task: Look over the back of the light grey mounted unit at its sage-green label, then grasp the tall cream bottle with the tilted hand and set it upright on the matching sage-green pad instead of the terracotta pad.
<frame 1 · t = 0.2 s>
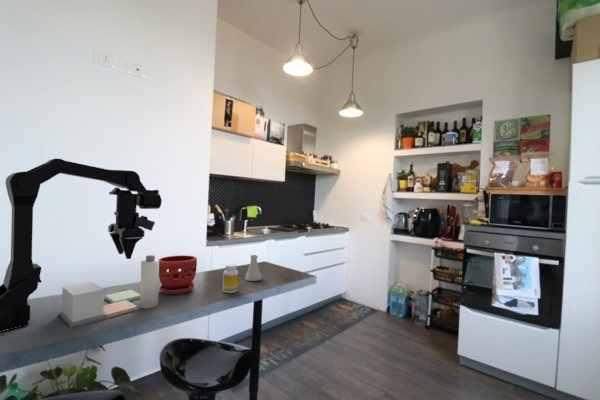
hand: (124, 256, 96), 14 cm above the breakfast bar, tool pointing down, fingers open, 9 cm apart
grey unit: (82, 316, 82), on the breakfast bar
flask: (253, 279, 123), on the breakfast bar
sage green pad: (123, 298, 96), on the breakfast bar
plant pot: (176, 291, 106), on the breakfast bar
supplement bottle: (230, 291, 107), on the breakfast bar
cream bottle: (149, 305, 91), on the breakfast bar
terracotta pad: (117, 310, 87), on the breakfast bar
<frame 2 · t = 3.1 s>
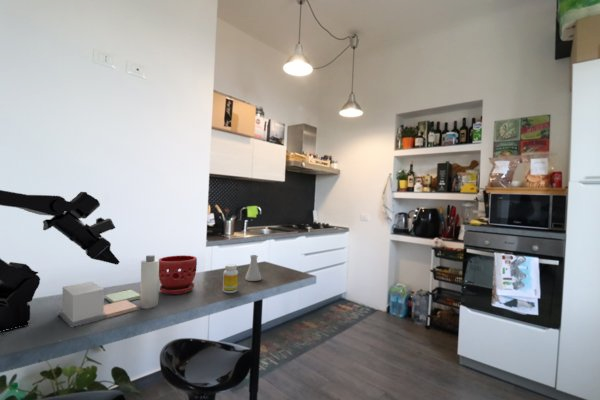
hand: (115, 260, 96), 13 cm above the breakfast bar, tool tilted 45°, fingers open, 9 cm apart
nothing on the breakfast bar moved.
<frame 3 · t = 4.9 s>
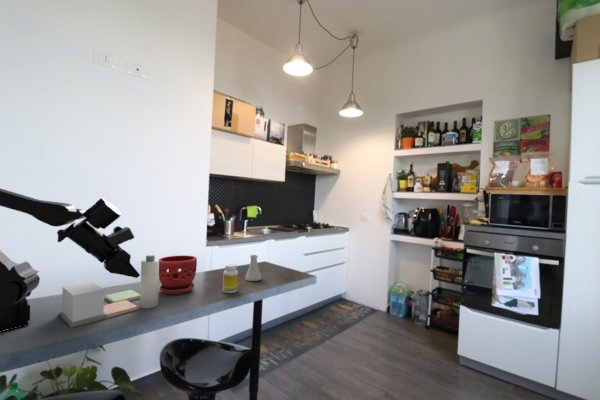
hand: (134, 272, 88), 11 cm above the breakfast bar, tool tilted 45°, fingers open, 9 cm apart
nothing on the breakfast bar moved.
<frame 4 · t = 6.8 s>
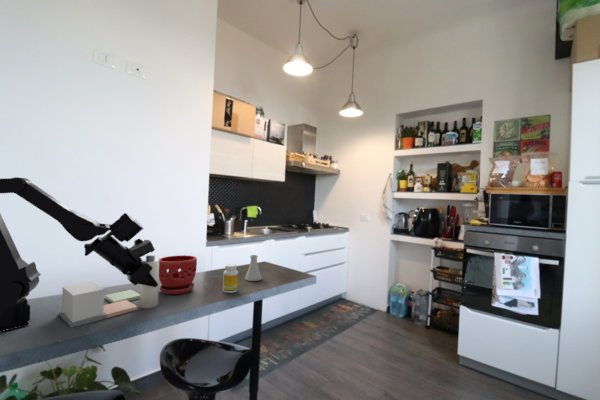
hand: (154, 283, 92), 7 cm above the breakfast bar, tool tilted 45°, fingers closed on cream bottle, 5 cm apart
cream bottle: (149, 305, 91), on the breakfast bar, touching gripper
everything else where it was.
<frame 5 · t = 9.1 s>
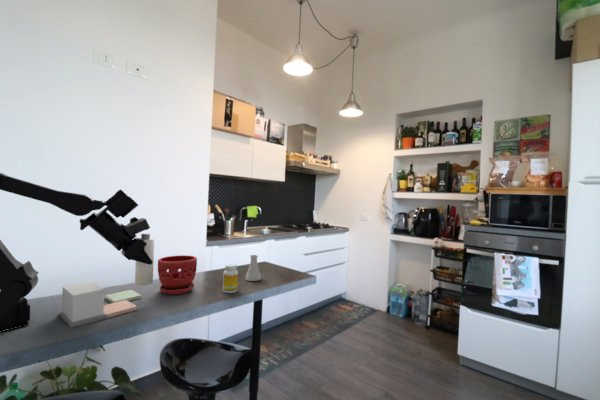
hand: (149, 261, 93), 13 cm above the breakfast bar, tool tilted 45°, fingers closed on cream bottle, 5 cm apart
cream bottle: (143, 283, 92), point 7 cm above the breakfast bar, touching gripper
everything else where it was.
when the fingers open (9 cm above the breakfast bar, at t = 11.7 s): cream bottle drops 1 cm, resting on sage green pad.
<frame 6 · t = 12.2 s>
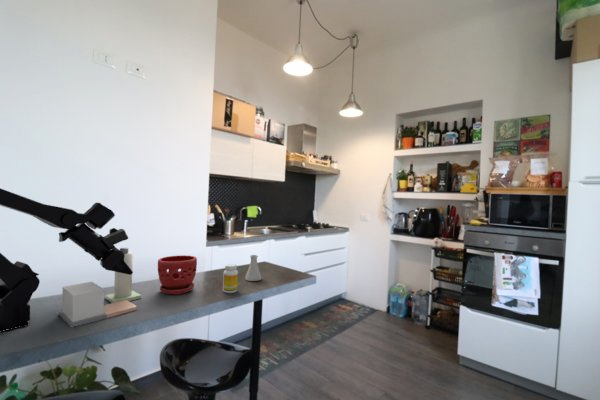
hand: (128, 270, 97), 9 cm above the breakfast bar, tool tilted 45°, fingers open, 9 cm apart
cream bottle: (123, 295, 96), point 1 cm above the breakfast bar, touching sage green pad
everything else where it was.
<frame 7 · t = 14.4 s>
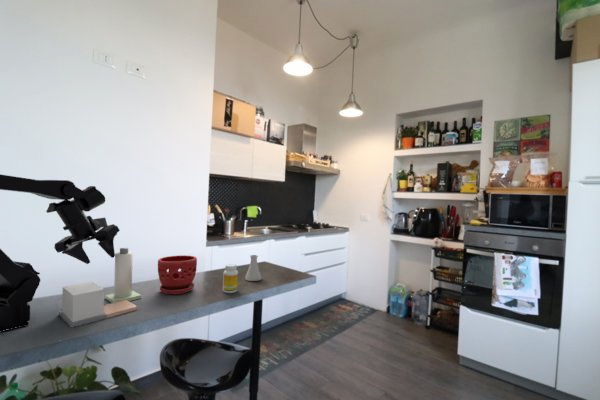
hand: (101, 260, 95), 13 cm above the breakfast bar, tool tilted 25°, fingers open, 9 cm apart
cream bottle: (123, 295, 96), point 1 cm above the breakfast bar, touching gripper, sage green pad
everything else where it was.
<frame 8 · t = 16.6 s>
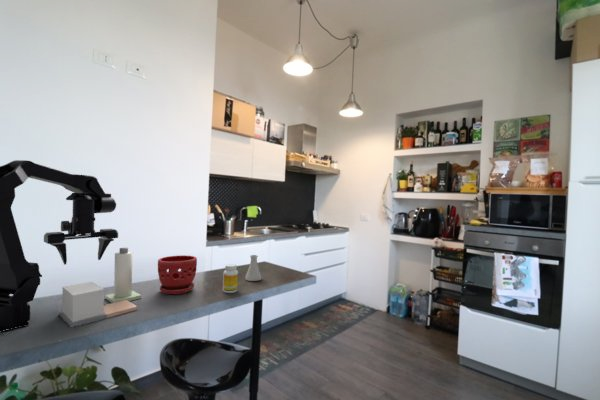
hand: (82, 261, 95), 12 cm above the breakfast bar, tool pointing down, fingers open, 9 cm apart
cream bottle: (123, 295, 96), point 1 cm above the breakfast bar, touching sage green pad
everything else where it was.
at the end: cream bottle 0.1 cm off-centre on the sage green pad, point 1.0 cm above the sage green pad's base; cream bottle tilted 1°; the gripper is holding nothing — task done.
